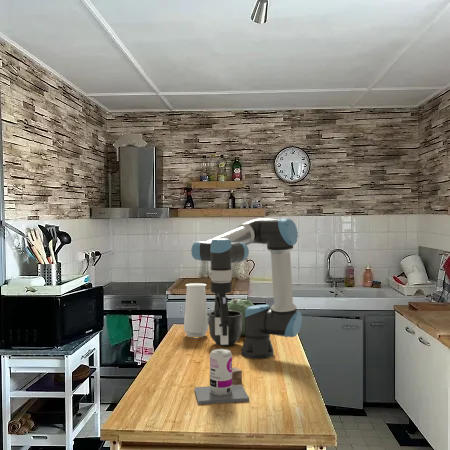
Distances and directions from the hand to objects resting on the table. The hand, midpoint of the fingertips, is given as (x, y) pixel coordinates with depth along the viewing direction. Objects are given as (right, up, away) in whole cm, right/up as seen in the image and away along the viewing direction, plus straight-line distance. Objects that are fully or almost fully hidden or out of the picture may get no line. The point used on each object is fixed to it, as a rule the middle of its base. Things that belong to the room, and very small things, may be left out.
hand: (221, 339), depth 182 cm
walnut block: (+4, -20, +15) cm, 26 cm away
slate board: (0, -21, 0) cm, 21 cm away
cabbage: (+10, -19, +92) cm, 95 cm away
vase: (-14, -19, +89) cm, 92 cm away
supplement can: (0, -20, 0) cm, 20 cm away
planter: (+2, -19, +71) cm, 74 cm away
